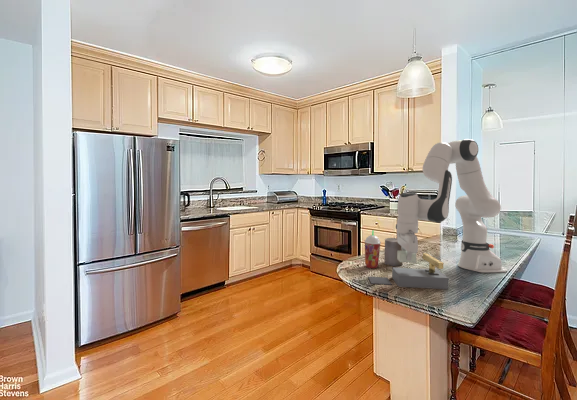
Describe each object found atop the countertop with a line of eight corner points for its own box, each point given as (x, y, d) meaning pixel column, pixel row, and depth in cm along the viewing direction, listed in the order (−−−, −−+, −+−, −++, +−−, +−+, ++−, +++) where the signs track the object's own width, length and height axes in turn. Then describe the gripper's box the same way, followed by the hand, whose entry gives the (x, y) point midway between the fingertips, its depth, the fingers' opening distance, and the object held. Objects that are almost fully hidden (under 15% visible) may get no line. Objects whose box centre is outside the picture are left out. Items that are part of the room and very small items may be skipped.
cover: (412, 259, 140) (412, 250, 140) (416, 262, 135) (416, 253, 135) (397, 259, 141) (397, 250, 141) (400, 262, 136) (400, 253, 136)
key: (421, 267, 146) (422, 253, 145) (426, 267, 146) (427, 253, 145) (437, 278, 130) (438, 263, 129) (443, 278, 130) (444, 263, 129)
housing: (437, 279, 143) (438, 268, 143) (448, 289, 132) (448, 276, 131) (392, 277, 146) (392, 266, 145) (398, 286, 134) (398, 274, 133)
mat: (387, 278, 144) (387, 277, 144) (391, 285, 135) (391, 284, 135) (368, 277, 145) (368, 276, 145) (371, 284, 136) (371, 283, 136)
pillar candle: (399, 261, 173) (400, 235, 172) (404, 266, 163) (405, 239, 162) (382, 261, 174) (383, 235, 173) (386, 266, 164) (386, 238, 163)
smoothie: (380, 265, 165) (381, 229, 163) (379, 270, 157) (380, 232, 155) (364, 263, 168) (365, 228, 166) (362, 268, 160) (364, 230, 158)
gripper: (422, 232, 126) (421, 265, 128) (408, 224, 147) (407, 252, 148) (406, 232, 127) (406, 264, 128) (394, 224, 147) (394, 252, 148)
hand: (406, 258), depth 138 cm, fingers closed on cover, 5 cm apart
